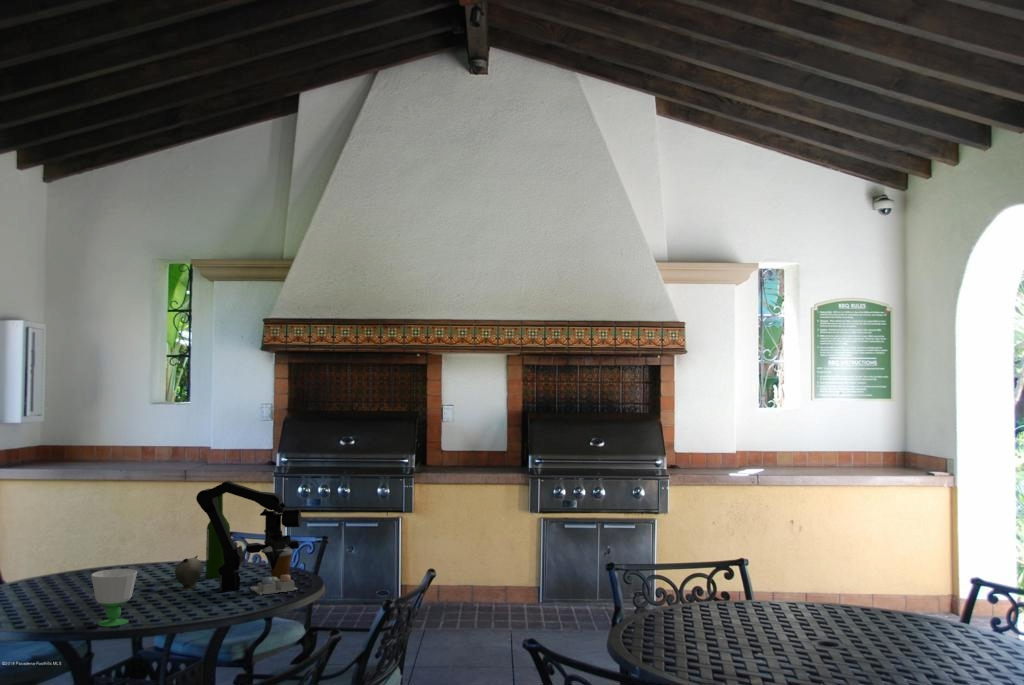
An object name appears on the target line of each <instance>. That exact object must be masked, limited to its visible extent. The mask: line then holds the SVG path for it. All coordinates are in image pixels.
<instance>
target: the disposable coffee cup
mask: <svg viewBox="0 0 1024 685" xmlns="http://www.w3.org/2000/svg"><path fill="white" fill-rule="evenodd" d="M283 550H284V552H282V553H281V554H280V555H279V557H278V560H277V562H276V565H275V568H274V569H273V570H272V569H271V568H270V574H271V576H270V577H277V578H278V579H280V578H281V575H290V568H291V563H292V561H291V560H292V555H293V552H294V551H293V549H291V548H290V547H285V549H283Z"/></svg>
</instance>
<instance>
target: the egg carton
mask: <svg viewBox="0 0 1024 685" xmlns="http://www.w3.org/2000/svg"><path fill="white" fill-rule="evenodd" d="M295 585H296V584H295V581H294V580H293V579H291V578H290V582H280V579H278V578H277V580H275V581H272V584H265V585H263V584H262V581H260V582H257V586H250V589H252V590H253V591H255V592H257V593H259V594H260V595H262V594H270V593H278V592H287V591H294V590H298V589H299V588H298V587H295ZM250 589H249V590H250ZM253 591H252V592H253ZM255 592H254V593H255ZM260 595H259V596H260Z"/></svg>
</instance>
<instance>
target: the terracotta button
mask: <svg viewBox="0 0 1024 685" xmlns="http://www.w3.org/2000/svg"><path fill="white" fill-rule="evenodd" d="M290 579H291V574H289V575H281V578H280V582H290Z"/></svg>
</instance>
